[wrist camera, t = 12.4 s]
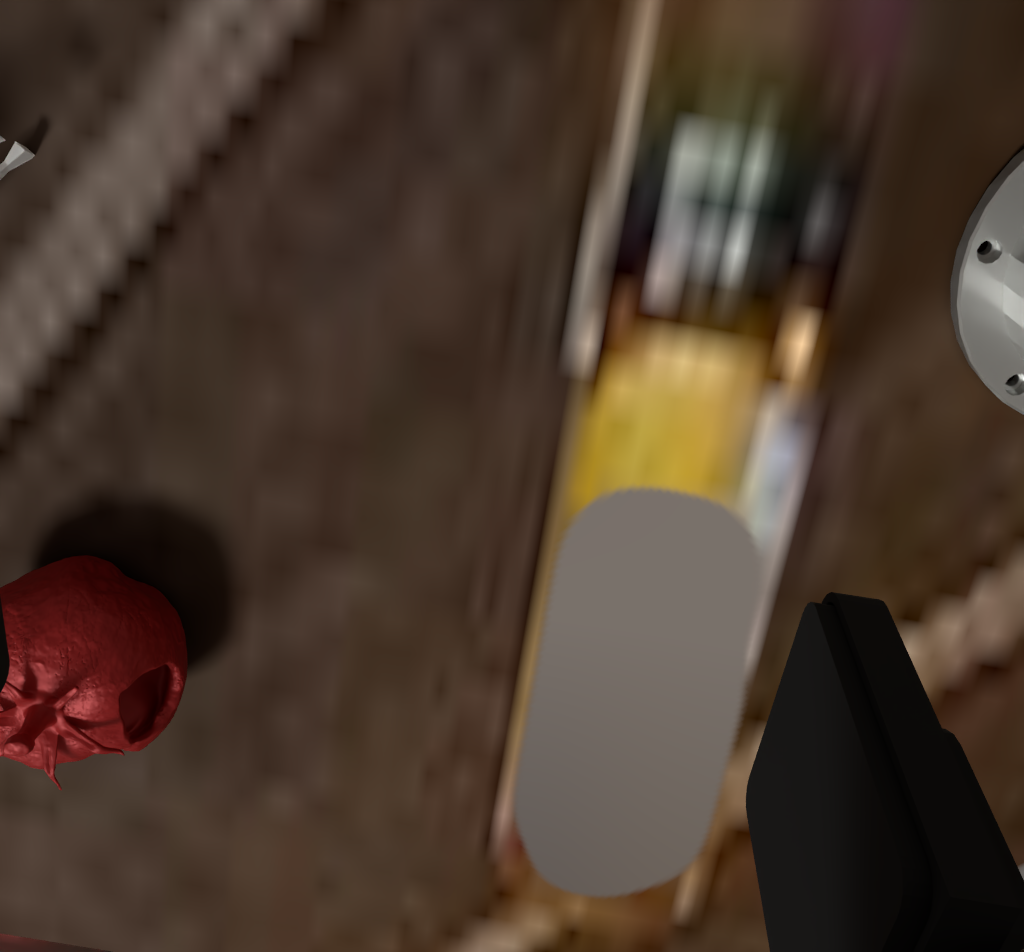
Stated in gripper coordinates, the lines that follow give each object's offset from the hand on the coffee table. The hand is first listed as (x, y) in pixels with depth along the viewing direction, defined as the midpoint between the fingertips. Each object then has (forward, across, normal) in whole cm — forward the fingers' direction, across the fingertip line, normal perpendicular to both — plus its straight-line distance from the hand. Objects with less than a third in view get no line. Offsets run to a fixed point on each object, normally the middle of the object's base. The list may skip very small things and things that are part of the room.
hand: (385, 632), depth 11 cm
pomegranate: (+29, +18, +24) cm, 41 cm away
